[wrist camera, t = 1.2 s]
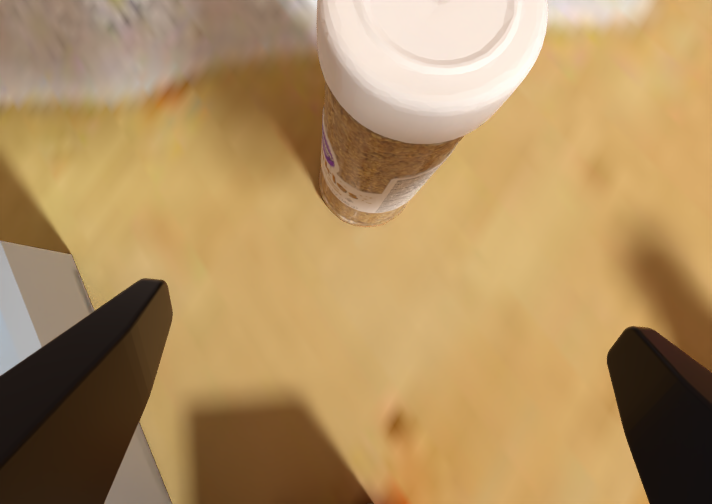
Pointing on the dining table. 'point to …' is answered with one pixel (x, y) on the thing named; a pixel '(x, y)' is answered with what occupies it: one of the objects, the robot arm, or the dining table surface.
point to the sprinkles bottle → (411, 90)
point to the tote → (47, 321)
